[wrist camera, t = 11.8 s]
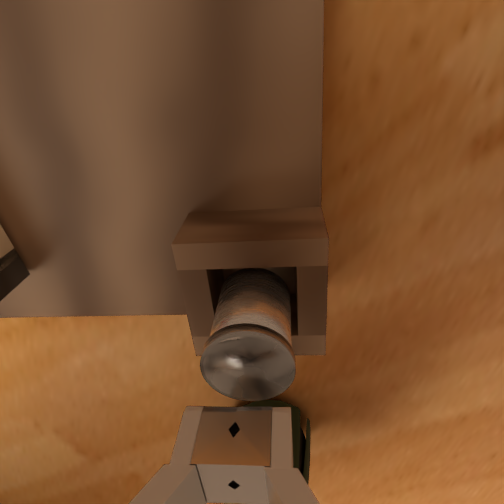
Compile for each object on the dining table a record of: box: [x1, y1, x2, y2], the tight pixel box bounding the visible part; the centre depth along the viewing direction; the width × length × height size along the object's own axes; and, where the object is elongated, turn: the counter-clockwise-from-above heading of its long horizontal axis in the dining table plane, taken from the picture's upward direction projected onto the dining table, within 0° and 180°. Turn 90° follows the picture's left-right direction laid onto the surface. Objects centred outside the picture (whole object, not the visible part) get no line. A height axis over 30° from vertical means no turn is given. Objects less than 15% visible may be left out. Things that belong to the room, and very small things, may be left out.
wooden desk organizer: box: [0, 0, 329, 356], centre depth 14 cm, size 24×22×5 cm
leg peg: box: [200, 268, 295, 401], centre depth 14 cm, size 3×3×4 cm
